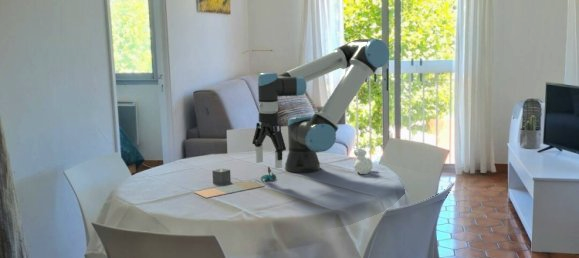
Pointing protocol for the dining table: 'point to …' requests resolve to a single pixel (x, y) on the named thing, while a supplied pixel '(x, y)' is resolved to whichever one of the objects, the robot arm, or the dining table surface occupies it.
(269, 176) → the dragon figurine
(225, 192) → the game board
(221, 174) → the die
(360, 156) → the duck figurine
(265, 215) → the dining table surface
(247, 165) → the dining table surface
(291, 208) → the dining table surface
